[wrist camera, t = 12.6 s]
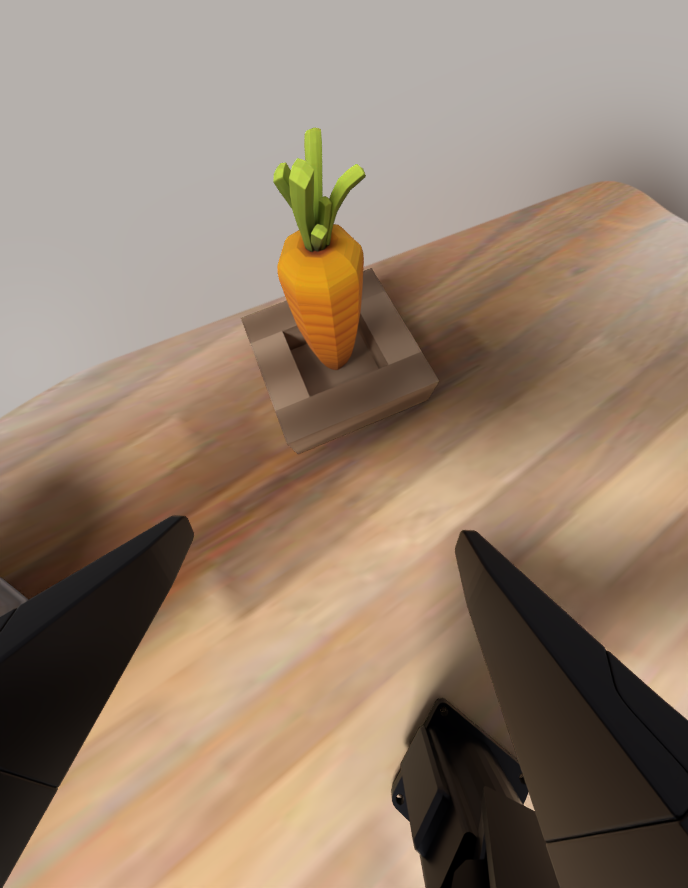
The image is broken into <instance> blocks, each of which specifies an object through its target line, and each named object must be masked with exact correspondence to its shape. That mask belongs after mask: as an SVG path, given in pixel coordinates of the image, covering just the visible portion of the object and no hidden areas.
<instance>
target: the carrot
mask: <svg viewBox="0 0 688 888" xmlns="http://www.w3.org/2000/svg"><path fill="white" fill-rule="evenodd" d="M304 147H305V160H302V159H299V158H298V159H297V160H296V161H295V163H294V164H293V166H292V169H291V170H290V169H289V167H288V165H287V163H281V164H280V165H279V166H278V167H277V169H276V171H275V173H274V184H275V185H276V187H277V188H278V190H279V192H280V193H281V194H282V196H283V197H284V198H285V200H286V201H287V202H288V204H289V205H290V207H291V208H292V210H293V213H294V216H295V219H296V222H297V225H298V228H299V230H298V231H297V232H295V233H293V234H291V235H290V236H288V237H287V239H286V240H285V243H284V246H283V249H282V252H281V256H280V259H279V262H278V277H279V280H280V283H281V286H282V288H283V291H284V294H285V297H286V299H287V302H288V305H289V307H290V310H291V312H292V314H293V317H294V319H295V322H296V324H297V327H298V328H299V330H300V332H301V333H302V335H303V337H304V339H305V340H306V342H307V343H308V345H309V346H310V348H311V349H312V351H313V352H314V353H315V355H316V356H317V357H318V358H319V360H320V361H321V362H322V363H323V364H324V365H325V366H326V367H328V368H330V369H332V370H339V369H340V368H342V367H343V366H344V365H345V364H346V363H347V361H348V360H349V358H350V357H351V355H352V351H353V348H354V344H355V339H356V334H357V329H358V323H359V318H360V312H361V300H362V287H363V264H364V257H363V250H362V247H361V245H360V244H359V243H358V242H356V241H355V240H354V239H353V238H352V237H351V236H350V235H349V234H348V233H347V232H346V231H345V230H344V229H343V228H342V227H340V226H339V225H336V224H334V221H335V217H336V214H337V211H338V210H339V208H340V206H341V204H342V202H343V201H344V199H345V198H346V196H347V194H348V193H349V192H350V190H351V189H352V188H354V187H355V186H356V185H357V184H358V183H359V182H360V181H361V180H363V179H364V178H365V176H366V175H365V172H364V170H363V168H361V167H360V166H359V165H358V164H355V165H354V166H353V167H351V168H350V169H348V170H347V171H346V172H345V173H344V174H343V175H342V176H341V177H340V178H339V179H338V181H337V183H336V185H335V187H334V189H333V191H332V193H331V195H330V198H328V197H326V196H324V197H322V139H321V129H319V128H312V129H309V130H307V131H306V133H305V143H304Z"/></svg>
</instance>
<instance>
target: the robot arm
mask: <svg viewBox="0 0 688 888" xmlns="http://www.w3.org/2000/svg"><path fill="white" fill-rule="evenodd" d="M193 538H194V532H193V529H192V527H191V525H190V522H189V520H188V518H187V517H186V516H179V515H174V516H171V517H169V518H167V519H165V520H164V521H162V522H160V523H159V524H157V525H155V526H154V527H152V528H150V529H148V530H147V531H145V532H143V533H142V534H140V535H138V536H137V537H135V538H133V539H131V540H130V541H128V542H126V543H125V544H123V545H121V546H120V547H118V548H116V549H114V550H113V551H111V552H109V553H108V554H106V555H104V556H103V557H101V558H99V559H97V560H96V561H94V562H92V563H91V564H89V565H87V566H86V567H84V568H82V569H80V570H79V571H77V572H75V573H74V574H72V575H70V576H69V577H67V578H65V579H63V580H62V581H60V582H58V583H57V584H55V585H53V586H52V587H50V588H48V589H46V590H45V591H43V592H41V593H40V594H38V595H36V596H35V597H33V598H31V599H29V600H28V601H26V602H24V603H23V604H21V605H20V606H19V607H18V608H14V609H12V610H11V611H9V612H7V613H6V614H4V615H2V616H0V888H3V886H4V884H5V882H6V881H7V879H8V877H9V875H10V874H11V872H12V870H13V868H14V866H15V865H16V863H17V861H18V859H19V858H20V856H21V854H22V852H23V850H24V849H25V847H26V845H27V843H28V842H29V840H30V838H31V836H32V834H33V833H34V831H35V829H36V827H37V826H38V824H39V822H40V820H41V818H42V817H43V815H44V813H45V811H46V810H47V808H48V806H49V804H50V803H51V801H52V799H53V797H54V795H55V794H56V792H57V790H58V787H59V786H60V784H61V783H62V781H63V779H64V777H65V775H66V774H67V772H68V770H69V768H70V767H71V765H72V763H73V761H74V759H75V758H76V756H77V754H78V752H79V751H80V749H81V747H82V745H83V743H84V742H85V740H86V738H87V736H88V735H89V733H90V731H91V729H92V727H93V726H94V724H95V722H96V720H97V719H98V717H99V715H100V713H101V711H102V710H103V708H104V706H105V704H106V703H107V701H108V699H109V697H110V695H111V694H112V692H113V690H114V688H115V687H116V685H117V683H118V681H119V679H120V678H121V676H122V674H123V672H124V671H125V669H126V667H127V665H128V663H129V662H130V660H131V658H132V656H133V655H134V653H135V651H136V649H137V647H138V646H139V644H140V642H141V640H142V639H143V637H144V635H145V633H146V631H147V630H148V628H149V626H150V624H151V623H152V621H153V619H154V617H155V615H156V614H157V612H158V610H159V608H160V607H161V605H162V603H163V601H164V600H165V598H166V596H167V594H168V592H169V590H170V589H171V587H172V585H173V583H174V581H175V579H176V576H177V574H178V572H179V570H180V568H181V565H182V563H183V561H184V559H185V556H186V554H187V552H188V550H189V548H190V545H191V543H192V541H193ZM455 554H456V559H457V564H458V568H459V572H460V577H461V581H462V586H463V590H464V595H465V599H466V603H467V607H468V610H469V613H470V616H471V619H472V622H473V625H474V628H475V631H476V634H477V638H478V641H479V644H480V647H481V650H482V653H483V656H484V659H485V662H486V665H487V668H488V671H489V674H490V677H491V680H492V683H493V686H494V689H495V692H496V695H497V698H498V701H499V704H500V707H501V710H502V713H503V716H504V719H505V722H506V725H507V728H508V731H509V734H510V737H511V740H512V743H513V746H514V749H515V752H516V755H517V758H518V760H517V759H516V758H515V757H514V756H512V755H511V754H510V753H509V752H508V751H506V750H505V749H504V748H503V747H502V746H500V745H499V744H498V743H497V742H496V741H494V740H493V739H492V738H491V737H490V736H489V735H487V734H486V733H485V732H484V731H483V730H481V729H480V728H479V727H478V726H477V725H475V724H474V723H473V722H472V721H471V720H469V719H468V718H467V717H466V716H465V715H463V714H462V713H461V712H460V711H459V710H457V709H456V708H455V707H454V706H453V705H451V704H450V703H449V702H448V701H447V700H445V699H443V698H439V699H437V701H436V702H435V704H434V706H433V708H432V710H431V712H430V714H429V716H428V718H427V719H426V721H425V723H424V725H423V726H421V727H419V729H418V731H417V733H416V735H415V737H414V739H413V741H412V743H411V745H410V747H409V749H408V751H407V753H406V754H405V756H404V758H403V760H402V762H401V770H400V772H399V774H398V776H397V778H396V780H395V782H394V784H393V786H392V789H391V796H392V802H393V805H394V806H395V808H396V809H397V810H398V811H399V812H400V813H401V814H402V815H403V816H404V817H405V818H406V819H407V820H408V821H409V822H410V826H411V832H412V838H413V844H414V848H415V850H416V851H417V852H418V853H419V854H420V859H421V865H422V870H423V876H424V882H425V887H426V888H688V720H687V719H686V718H685V717H683V716H682V715H681V714H680V713H679V712H678V711H676V710H675V709H674V708H673V707H672V706H670V705H669V704H668V703H667V702H666V701H664V700H663V699H662V698H661V697H660V696H659V695H658V694H656V693H655V692H654V691H653V690H652V689H651V688H650V687H649V686H647V685H646V684H645V683H644V682H643V681H642V680H641V679H639V678H638V677H637V676H636V675H635V674H634V673H633V672H632V671H630V670H629V669H628V668H627V667H626V666H625V665H624V664H623V663H622V662H620V661H619V660H618V659H617V658H616V657H615V656H614V655H613V654H612V653H611V652H609V651H606V650H605V647H604V646H603V645H602V644H600V643H599V642H598V641H597V640H596V639H595V638H594V637H593V636H592V635H590V634H589V633H588V632H587V631H586V630H585V629H584V628H583V627H582V626H581V625H579V624H578V623H577V622H576V621H575V620H574V619H573V618H572V617H571V616H569V615H568V614H567V613H566V612H565V611H564V610H563V609H562V608H561V607H560V606H558V605H557V604H556V603H555V602H554V601H553V600H552V599H551V598H550V597H549V596H547V595H546V594H545V593H544V592H543V591H542V590H541V589H540V588H539V587H537V586H536V585H535V584H534V583H533V582H532V581H531V580H530V579H529V578H528V577H526V576H525V575H524V574H523V573H522V572H521V571H520V570H519V569H518V568H516V567H515V566H514V565H513V564H512V563H511V562H510V561H509V560H508V559H507V558H505V557H504V556H503V555H502V554H501V553H500V552H499V551H498V550H497V549H496V548H494V547H493V546H492V545H491V544H490V543H489V542H488V541H487V540H486V539H484V538H483V537H482V536H481V535H480V534H479V533H478V532H476V531H474V530H462V531H461V532H460V535H459V538H458V541H457V543H456V547H455ZM442 707H445V708H446V710H445V711H444V712H441V711H440V709H441V708H442ZM520 774H523V777H522V778H519V776H520ZM528 792H529V795H530V798H531V801H532V804H533V807H534V810H535V811H533V810H531V809H529V808H527V807H525V806H524V802H525V800H526V797H527V795H528ZM398 794H401V795H402V797H401V798H398V797H397V795H398Z"/></svg>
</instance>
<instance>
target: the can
mask: <svg viewBox="0 0 688 888" xmlns="http://www.w3.org/2000/svg"><path fill="white" fill-rule="evenodd" d="M26 601H28V599H27V598H26V597H25V596H23V595H22V594H21V593H20V592H19V591H17V590H16V589H15V588H14V587H12V586H11V585H10V584H9V583H7V582H6V581H5V580H4V579H2V578H1V577H0V616H2V615H4V614H6V613H7V612H9V611H11V610H12V609H14V608H18V607H19V606H20V605H21V604H23V603H24V602H26Z"/></svg>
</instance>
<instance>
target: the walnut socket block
mask: <svg viewBox="0 0 688 888" xmlns="http://www.w3.org/2000/svg"><path fill="white" fill-rule="evenodd" d="M241 320H242V322H243V325H244V328H245V331H246V333H247V336H248V339H249V341H250V344H251V347H252V350H253V352H254V355H255V358H256V361H257V363H258V366H259V369H260V371H261V374H262V377H263V380H264V382H265V385H266V388H267V390H268V393H269V396H270V399H271V401H272V404H273V407H274V409H275V412H276V415H277V418H278V420H279V423H280V426H281V429H282V431H283V434H284V437H285V439H286V442H287V444H288V445H289V446H290V447H291V448H292V449H293V450H294V451H295V452H296V453H297V454H300V453H303V452H305V451H307V450H310V449H312V448H314V447H317V446H319V445H322V444H324V443H326V442H329V441H331V440H334V439H336V438H338V437H341V436H343V435H346V434H348V433H350V432H353V431H355V430H357V429H360V428H362V427H365V426H367V425H369V424H372V423H374V422H377V421H379V420H381V419H384V418H386V417H389V416H391V415H393V414H396V413H398V412H401V411H403V410H405V409H408V408H410V407H412V406H415V405H417V404H420V403H422V402H424V401H427V400H428V399H429V397H430V395H431V394H432V392H433V391H434V389H435V387H436V386H437V384H438V382H439V380H438V378H437V376H436V375H435V373H434V371H433V370H432V368H431V366H430V365H429V363H428V361H427V360H426V358H425V356H424V355H423V353H422V351H421V350H420V348H419V346H418V345H417V343H416V341H415V340H414V338H413V336H412V335H411V333H410V331H409V330H408V328H407V326H406V325H405V323H404V321H403V320H402V318H401V316H400V315H399V313H398V311H397V310H396V308H395V306H394V305H393V303H392V301H391V300H390V298H389V296H388V295H387V293H386V291H385V290H384V288H383V286H382V285H381V283H380V281H379V280H378V278H377V276H376V275H375V273H374V271H373V270H372V268H370V269H368V270H365V271H363V287H362V300H361V312H360V318H359V323H358V329H357V334H356V339H355V344H354V348H353V351H352V355H351V357H350V358H349V360H348V361H347V363H346V364H345V365H344V366H343V367H342V368H340V369H339V370H332V369H330V368H328V367H326V366H325V365H324V364H323V363H322V362H321V361H320V360H319V358H318V357H317V356H316V355H315V353H314V352H313V351H312V349H311V348H310V346H309V345H308V343H307V342H306V340H305V339H304V337H303V335H302V333H301V332H300V330H299V328H298V327H297V324H296V322H295V319H294V317H293V314H292V312H291V310H290V307H289V305H288V302H287V301H284V302H282V303H279V304H276V305H274V306H271V307H269V308H266V309H263V310H261V311H258V312H255V313H253V314H250V315H248V316H245V317H242V318H241Z"/></svg>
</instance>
